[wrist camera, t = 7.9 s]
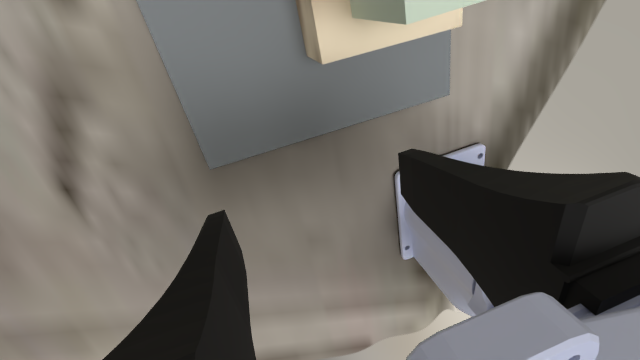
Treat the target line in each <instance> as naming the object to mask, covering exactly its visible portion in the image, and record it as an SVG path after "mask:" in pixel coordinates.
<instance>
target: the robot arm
mask: <svg viewBox="0 0 640 360" xmlns="http://www.w3.org/2000/svg"><path fill="white" fill-rule="evenodd" d="M485 149H486V148H485V146H484V145H483V144H481V143H479V144H475V145H472V146H470V147H467V148H464V149H461V150H458V151H455V152H452V153H449V154H446V155H443V156H440V155H436V154H433V153H429V152H425V151H421V150H416V149H410V150H407V151H404V152H401V153H398V156H399V171H398V172H397V173H396V175H395V187H396V199H397V211H398V223H399V236H400V248H401V256H402V258H403V259H405V260H407V259H410V258H412V257H414V258H415V259H416V260H417V261H418V263H419V264H420V265H421V266H422V268H423V269H424V270H425V271H426V272H427V274H428V275H429V276H430V277H431V279H432V280H433V281H434V282H435V284H436V285H437V286H438V287H439V288H440V290H441V291H442V292H443V293H444V295H445V296H446V297H447V298H448V300H449V301H450V302H451V303H452V304H453V305H454V306H455V307H456V308H458V309H459V310H461V311H462V312H464V313H466V314H468V315H470V316H472V317H471V318H469V319H467V320H464V321H462V322H460V323H457V324H455V325H453V326H450V327H448V328H446V329H443V330H441V331H439V332H437V333H436V334H434V335H432V336H430V337H429V338H427V339H426V340H424V341H422V342H420V343H419V344H418V345H417V346H416V348H415V349H414V350H413V351H412V352H411V353H410V354H409V356H407V359H406V360H640V177H638V176H636V175H633V174H630V173H627V172H617V173H596V174H549V173H533V172H522V171H512V170H505V169H498V168H492V167H486V166H484V160H485ZM478 155H479V156H478ZM103 360H256V357H255V351H254V346H253V341H252V334H251V326H250V314H249V301H248V288H247V276H246V269H245V264H244V259H243V255H242V250H241V248H240V245H239V243H238V241H237V238H236V236H235V234H234V231H233V229H232V227H231V224H230V222H229V219H228V217H227V215H226V212H225V210H223V211H220V212H217V213H214V214H210V215H208V217H207V218H206V220H205V223H204V225H203V227H202V229H201V231H200V233H199V236H198V238H197V240H196V242H195V244H194V246H193V248H192V250H191V252H190V254H189V255H188V257H187V259H186V261H185V262H184V264H183V266H182V267H181V269H180V271H179V273H178V274H177V276H176V277H175V279H174V280H173V282H172V283H171V285H170V286H169V287H168V289H167V290H166V291H165V293H164V294H163V296H162V297H161V298H160V299H159V301H158V302H157V303H156V304H155V305H154V307H153V308H152V309H151V310H150V311H149V312H148V314H147V315H146V316H145V317H144V318H143V320H142V321H141V322H140V323H139V324H138V325H137V326H136V327H135V328H134V329H133V330H132V331H131V332H130V334H129V335H128V336H127V337H126V338H125V339H124V340H123V341H122V342H121V343H120V344H119V345H118V346H117V347H116V348H114V349H113V350H112V351H111V352H110V353H109V354H108V355H107V356H106V357H105V358H104V359H103Z"/></svg>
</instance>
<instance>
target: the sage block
mask: <svg viewBox="0 0 640 360" xmlns="http://www.w3.org/2000/svg"><path fill="white" fill-rule="evenodd" d="M482 1H485V0H350V5H351V12H352V18H356V19H364V20H372V21H380V22H388V23H396V24H404V25H407V24H411V23H414V22H417V21H420V20H423V19H427V18H430V17H433V16H436V15H440V14H443V13H446V12H449V11H453V10H456V9H459V8H462V7H466V6H469V5H472V4H475V3H479V2H482Z"/></svg>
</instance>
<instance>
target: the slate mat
mask: <svg viewBox="0 0 640 360" xmlns="http://www.w3.org/2000/svg"><path fill="white" fill-rule="evenodd" d="M136 1H137V3H138V5H139V8H140V10H141V12H142V15H143V17H144V19H145V22H146V24H147V26H148V28H149V31H150V33H151V35H152V38H153V40H154V42H155V45H156V47H157V49H158V51H159V54H160V56H161V58H162V61H163V63H164V65H165V68H166V70H167V72H168V74H169V77H170V79H171V81H172V84H173V86H174V88H175V91H176V93H177V95H178V97H179V100H180V102H181V104H182V107H183V109H184V111H185V114H186V116H187V118H188V120H189V123H190V125H191V127H192V130H193V132H194V134H195V137H196V139H197V141H198V143H199V146H200V148H201V150H202V153H203V155H204V157H205V160H206V162H207V164H208V166H209V169H214V168H217V167H220V166H223V165H226V164H230V163H233V162H236V161H239V160H242V159H246V158H249V157H252V156H255V155H258V154H262V153H265V152H268V151H271V150H274V149H278V148H281V147H284V146H287V145H290V144H294V143H297V142H300V141H303V140H307V139H310V138H313V137H316V136H319V135H323V134H326V133H329V132H332V131H335V130H339V129H342V128H345V127H348V126H351V125H355V124H358V123H361V122H364V121H367V120H371V119H374V118H377V117H380V116H383V115H387V114H390V113H393V112H396V111H399V110H403V109H406V108H409V107H412V106H415V105H419V104H422V103H425V102H428V101H431V100H435V99H438V98H441V97H444V96H447V95H449V94H450V45H451V29H450V30H446V31H443V32H439V33H435V34H432V35H428V36H425V37H421V38H417V39H414V40H410V41H406V42H403V43H399V44H396V45H392V46H388V47H385V48H381V49H377V50H374V51H370V52H367V53H363V54H359V55H356V56H352V57H349V58H345V59H341V60H338V61H334V62H330V63H327V64H323V65H322V64H321V63H319V62H317V61H315V60H313V59H312V58H310V57H308V56H307V54H306V49H305V44H304V39H303V34H302V29H301V25H300V20H299V15H298V10H297V5H296V0H136Z"/></svg>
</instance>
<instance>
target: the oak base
mask: <svg viewBox="0 0 640 360" xmlns="http://www.w3.org/2000/svg"><path fill="white" fill-rule="evenodd" d="M296 5H297V10H298V15H299V20H300V25H301V29H302V34H303V39H304V44H305V49H306V54H307V56H308V57H310V58H312V59H313V60H315V61H317V62H319V63H321V64H322V65H323V64H327V63H330V62H334V61H338V60H341V59H345V58H349V57H352V56H356V55H359V54H363V53H367V52H370V51H374V50H377V49H381V48H385V47H388V46H392V45H396V44H399V43H403V42H406V41H410V40H414V39H417V38H421V37H425V36H428V35H432V34H435V33H439V32H443V31H446V30H450V29H454V28H457V27H461V26H462V12H463V7H462V8H459V9H456V10H453V11H449V12H446V13H443V14H440V15H436V16H433V17H430V18H427V19H423V20H420V21H417V22H414V23H411V24H407V25H404V24H396V23H388V22H380V21H372V20H364V19H356V18H352V12H351V5H350V0H296Z"/></svg>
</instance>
